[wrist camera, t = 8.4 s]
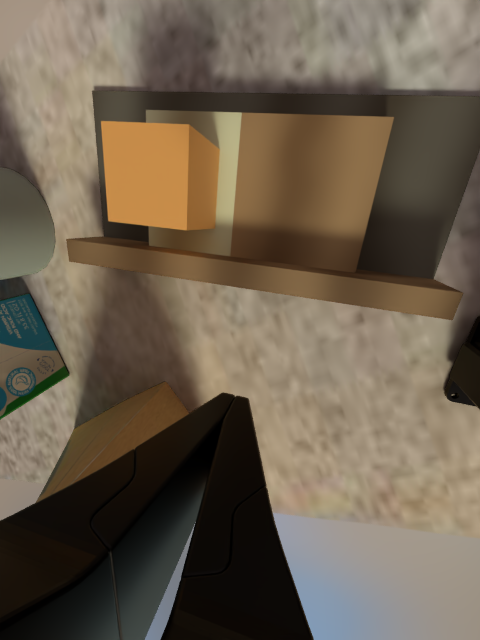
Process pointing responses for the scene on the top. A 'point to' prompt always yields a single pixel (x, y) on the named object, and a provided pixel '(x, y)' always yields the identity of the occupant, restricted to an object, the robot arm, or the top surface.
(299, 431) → the top surface
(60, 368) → the milk carton
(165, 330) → the top surface
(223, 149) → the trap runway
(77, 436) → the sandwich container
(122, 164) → the block
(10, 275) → the spray bottle
